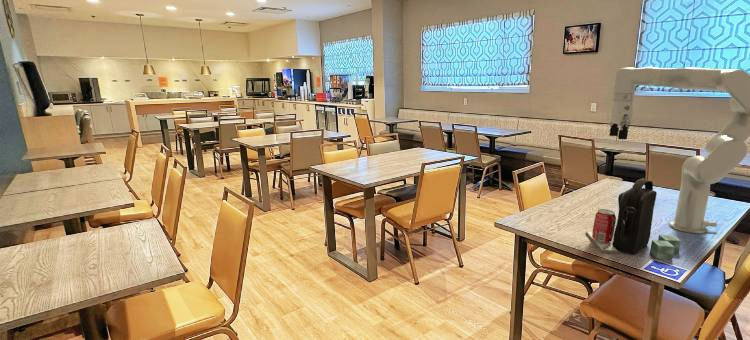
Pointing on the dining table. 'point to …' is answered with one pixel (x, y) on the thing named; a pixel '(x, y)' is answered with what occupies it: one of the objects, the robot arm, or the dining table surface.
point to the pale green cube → (671, 241)
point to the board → (602, 245)
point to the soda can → (604, 226)
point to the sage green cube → (662, 249)
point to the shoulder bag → (634, 217)
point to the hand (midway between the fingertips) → (617, 137)
